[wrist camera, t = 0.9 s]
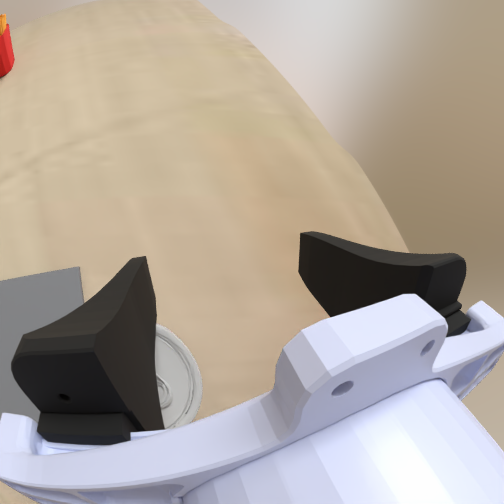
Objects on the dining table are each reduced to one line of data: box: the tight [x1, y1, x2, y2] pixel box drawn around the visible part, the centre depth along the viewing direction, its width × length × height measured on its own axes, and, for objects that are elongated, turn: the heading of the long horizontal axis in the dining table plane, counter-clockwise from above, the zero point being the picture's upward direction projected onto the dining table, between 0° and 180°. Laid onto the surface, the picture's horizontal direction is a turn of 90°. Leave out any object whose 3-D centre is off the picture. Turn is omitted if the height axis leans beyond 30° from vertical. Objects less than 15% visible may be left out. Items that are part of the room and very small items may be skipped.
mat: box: [0, 267, 84, 423], centre depth 17 cm, size 19×17×1 cm
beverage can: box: [155, 323, 202, 430], centre depth 16 cm, size 6×6×15 cm
